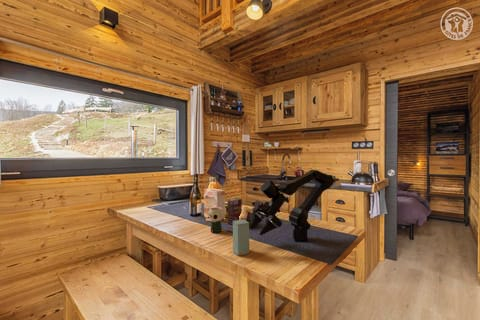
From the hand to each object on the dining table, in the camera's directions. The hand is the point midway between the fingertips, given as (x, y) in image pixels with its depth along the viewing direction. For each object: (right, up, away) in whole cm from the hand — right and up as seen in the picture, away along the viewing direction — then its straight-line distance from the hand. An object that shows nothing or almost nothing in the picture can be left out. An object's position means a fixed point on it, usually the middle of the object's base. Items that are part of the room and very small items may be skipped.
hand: (255, 231), depth 101 cm
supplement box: (-10, -8, +35) cm, 37 cm away
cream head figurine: (-20, -8, +24) cm, 32 cm away
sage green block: (-6, -8, -3) cm, 10 cm away
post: (-6, -8, -3) cm, 11 cm away
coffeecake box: (-24, -7, +51) cm, 57 cm away
